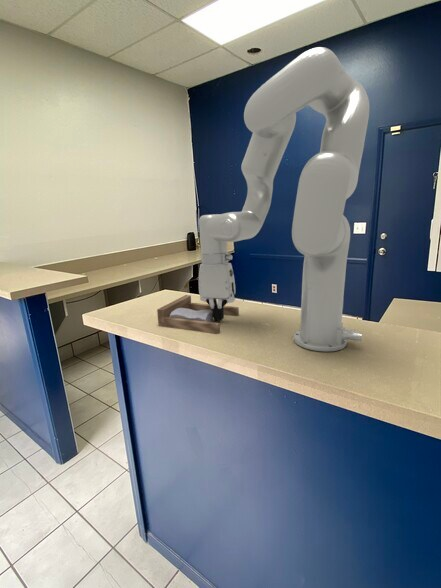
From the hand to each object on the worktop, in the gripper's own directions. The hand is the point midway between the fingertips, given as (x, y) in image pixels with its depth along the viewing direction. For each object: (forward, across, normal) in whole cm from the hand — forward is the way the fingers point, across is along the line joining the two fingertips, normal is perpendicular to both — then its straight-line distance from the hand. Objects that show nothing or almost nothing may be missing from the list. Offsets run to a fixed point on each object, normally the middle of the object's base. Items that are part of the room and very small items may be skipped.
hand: (218, 320), depth 92 cm
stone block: (+1, +8, +2) cm, 8 cm away
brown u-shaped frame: (0, +5, 0) cm, 5 cm away
